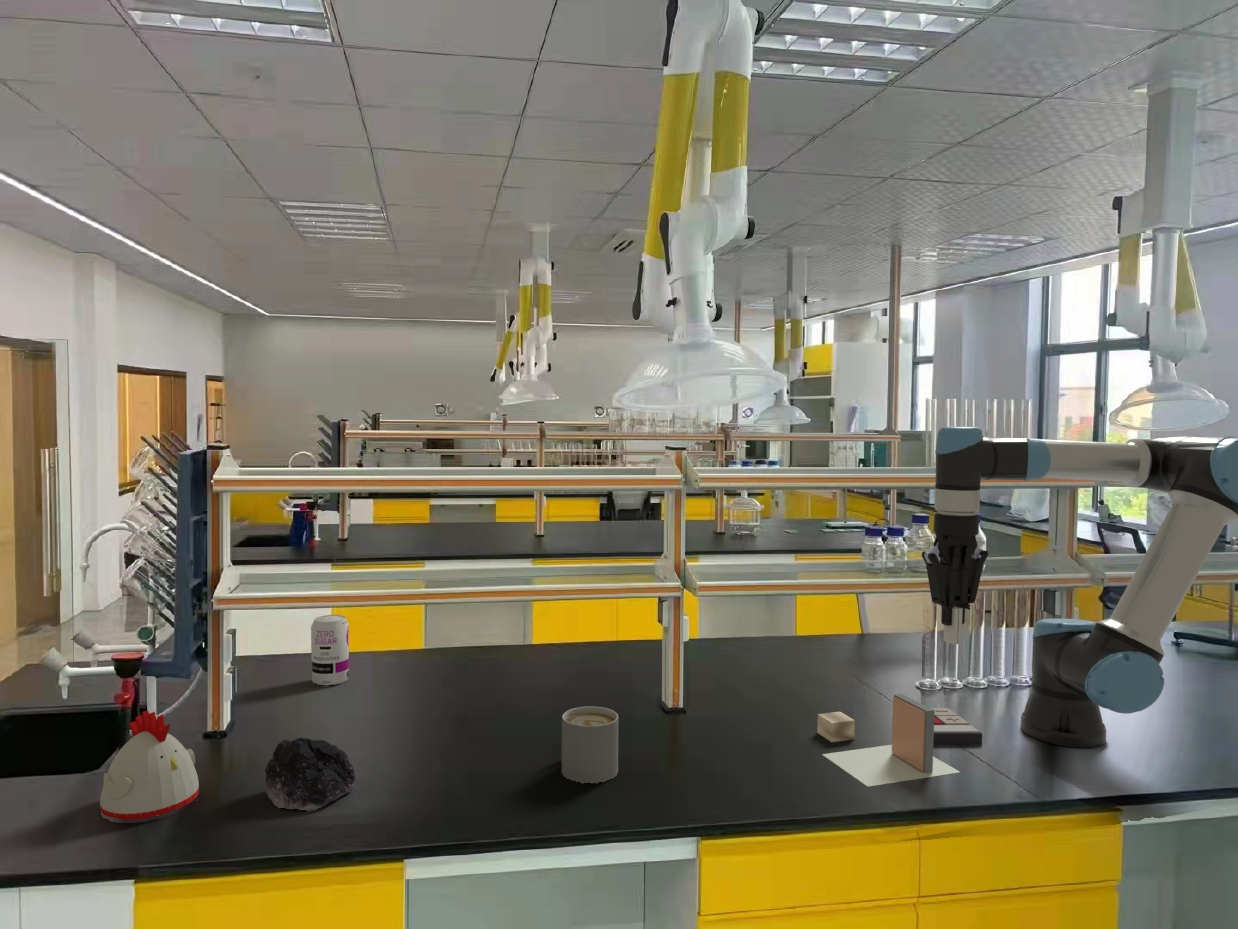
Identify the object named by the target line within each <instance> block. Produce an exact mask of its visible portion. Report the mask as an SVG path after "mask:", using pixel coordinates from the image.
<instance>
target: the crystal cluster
mask: <svg viewBox="0 0 1238 929" xmlns="http://www.w3.org/2000/svg"><path fill="white" fill-rule="evenodd" d="M264 771H265V793H266V795H267V797H268V798H269V800H271V802H272V804H274V806H275V807H277V808H278V809H280V808H285V809H284V810H287V809H288V810H292V809H299V810H298V811H300V810H310V809H318V808H320V809H322V808H323V807H325V806H326V805H328V804H330V803H331V802H333V801H336V800H337V799H339V798H340V797H342V796H344V795H346V794H348V793H350V792H351V791H352V790H354V788H355V781H356V773H355V769H354V766H353V764H352V763H351V762H350V759H349V757H348V755H347V753H346V752H345V751H343V749H342V748H340V747H338V745H336V744H330V743H329V742H328V741H327V740H324V739H315V740H313V739H311V738H307V737H303V736H301V737H297V738H294V739H292V740H288V739H284V740H282V741H280V742H279V743H277V746H276V747H275V749H274V751H273V753H272V758H271V759H269V760H268V762H267V764H266V767H265V769H264ZM318 810H319V809H318Z"/></svg>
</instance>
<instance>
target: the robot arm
mask: <svg viewBox="0 0 1238 929" xmlns="http://www.w3.org/2000/svg"><path fill="white" fill-rule="evenodd" d="M935 442H936V444H935V451H934V452H935V484H934V486H935V488H934V510H935V511H937V512H935V514H933V532H934V534H935V539H934V542H933V544H932V545H933V546H932V548H931V549H930V550H928V551H926V550H923V551H922V552H921V557H922V560H923V561H924V563H925V566H926V572H927V578H928V585H929V590H930V597H931V598H930V599H931V601H932V603H933V604H937V605H939V606H941V613H940V614H941V616H940V617H941V618H940V619H941V620H940V621H941V624H942V625H943V638H942V641H943V642H945V643H948V644H950V645H962V635H963V625H964V624H965V623H966V622H965V621H966V609H969V608H970V607H971V604H974V603H975V602H976V601H977V600H976V599H977V594H978V590H979V586H980V580H981V578H982V572H983V568H984V563H985V562H986V560H987V558H988V556H989V551H988V550H985V549H982V548H981V547H979V546H978V541H977V537H976V536H978V535H979V533H980V530H979V529H980V516H979V515H978V514H977V513H979V512H980V510H981V509H980V508H981V507H980V505H981V482H982V481H985V480H986V481H987V480H995V481H998V480H999V481H1000V480H1001V481H1024V482H1027V481H1033V480H1034V481H1038V480H1041V479H1057V480H1059V479H1060V480H1076V481H1077V480H1080V481H1096V482H1097V481H1101V482H1119V483H1121V482H1122V483H1123V484H1124V485H1125V486H1127V487H1129V488H1139V489H1148V490H1154V491H1159V492H1163V493H1167V494H1168V497H1169V498H1170V501H1171V507H1170V508H1169V510H1168V512H1167V513H1166V516H1165V517H1164V519H1163V521H1162V523H1161V525H1160V526H1159V527H1158V530H1157V532H1156V534H1155V535H1154V538H1153V540H1152V541H1151V543H1150V544H1149V546H1148V548H1147V550H1146V552H1145V553H1144V556H1143V558H1142V559H1141V561H1140V563H1139V565H1138V566H1137V568H1136V570H1135V571H1134V574H1133V576H1132V577H1131V579H1130V581H1129V583H1128V584H1127V586H1126V588H1125V590H1124V592H1123V593H1122V595H1121V597H1120V598H1119V601H1118V602H1117V604H1116V606H1115V608H1114V610H1113V611H1112V613H1111V615H1110V617H1108V618H1105V619H1102V620H1101V619H1100V620H1098V621H1092V620H1086V619H1078V618H1077V619H1076V618H1044V619H1043V618H1042V619H1040V620H1037V621H1036V622H1035V625H1034V627H1033V628H1034V629H1033V635H1032V640H1033V644H1032V667H1031V668H1032V669H1031V671H1032V674H1031V692H1030V694H1029V696H1028V699H1027V702H1026V704H1025V707H1024V710H1023V711H1022V714H1021V715H1020V729H1021V731H1022V732H1024V733H1025V734H1026V735H1027V736H1030V737H1031V738H1034V739H1036V740H1039V741H1042V742H1044V743H1049V744H1052V745H1057V746H1062V747H1070V748H1077V749H1079V748H1080V749H1081V748H1082V749H1083V748H1084V749H1089V748H1096V747H1101V746H1103V745H1105V744H1106V742H1107V728H1106V725H1105V724H1104V720H1103V717H1102V713H1101V712H1102V711H1101V710H1100V708H1103V709H1105V710H1106V709H1107V710H1109V711H1112V712H1115V713H1117V714H1118V713H1119V714H1124V715H1125V714H1128V715H1130V714H1134V713H1137V712H1142V711H1144V710H1146V709H1148V708H1149V707H1151V706H1152V705H1153V704H1154V703H1156V702H1157V700H1158V699H1159V698H1160V697H1161V694H1162V692H1163V690H1164V686H1165V678H1164V677H1163V675H1164V670H1163V669H1162V667H1161V665H1160V664H1161V662H1162V660H1163V658H1164V656H1165V651H1164V649H1163V646H1162V645H1161V641H1162V639H1163V637H1164V636H1165V633H1166V632H1167V630H1168V628H1169V627H1170V625H1171V623H1172V622H1173V619H1174V617H1175V616H1176V614H1177V613H1178V610H1179V609H1180V606H1181V604H1182V603H1183V601H1184V599H1185V597H1186V596H1187V594H1188V592H1189V590H1190V588H1191V587H1192V585H1193V583H1194V581H1195V579H1196V578H1197V575H1198V574H1199V572H1200V570H1202V567H1203V565H1204V563H1205V562H1206V559H1207V558H1208V555H1209V554H1210V552H1211V551H1212V549H1213V547H1214V545H1215V543H1216V542H1217V539H1218V538H1219V536H1220V534H1221V533H1222V531H1223V529H1224V527H1225V526H1226V525H1229V524H1233V523H1236V522H1238V436H1223V437H1222V436H1201V435H1200V436H1198V435H1181V436H1171V437H1161V438H1130V439H1128V440H1127V441H1126V442H1105V441H1104V442H1103V441H1085V440H1084V441H1081V440H1062V439H1061V440H1059V439H1058V440H1057V439H1042V438H1041V439H1040V438H1029V437H1023V438H1022V437H1017V438H1015V437H996V436H995V437H994V436H984V435H983V430H982V429H981V428H980V427H977V426H976V427H975V426H974V427H973V426H943V427H941V428H939V430H938V432H937V437H936V441H935Z"/></svg>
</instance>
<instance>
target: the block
mask: <svg viewBox="0 0 1238 929" xmlns="http://www.w3.org/2000/svg"><path fill="white" fill-rule="evenodd" d="M855 723H856V720H855V719H854V718H851V717H850V716H848V715H847V714H845V713H843V712H841V711H834V712H824V713H818V714H817V734H818V735H820V736H822V737H823V738H824V739H826V740H828V741H829V742H830V743H836V742H837V743H838V742H844V741H852V740H855V732H856V731H855V730H856V729H855V725H856V724H855Z"/></svg>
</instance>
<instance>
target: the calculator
mask: <svg viewBox="0 0 1238 929" xmlns="http://www.w3.org/2000/svg"><path fill="white" fill-rule="evenodd" d="M930 708H931V709H933V710H934V740H933V746H981V745H983V733H982V731H979V729H977V728H975V726H973V725H971V724H970V722H968V721H967V720H965V719H964V718H963V717H962V716H960V715H958V713H956V712H954V711H953V710H951V709H950V708H949V707H948V708H947V707H930Z"/></svg>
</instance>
